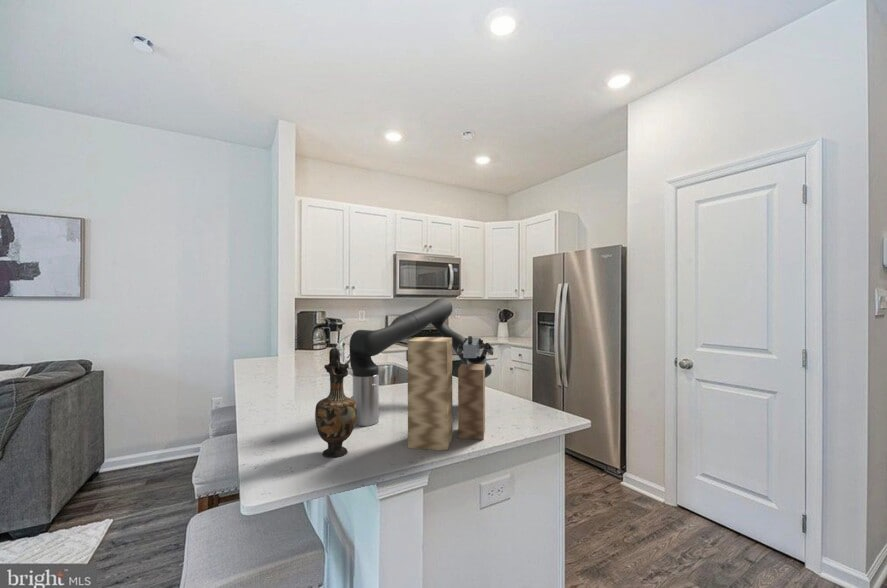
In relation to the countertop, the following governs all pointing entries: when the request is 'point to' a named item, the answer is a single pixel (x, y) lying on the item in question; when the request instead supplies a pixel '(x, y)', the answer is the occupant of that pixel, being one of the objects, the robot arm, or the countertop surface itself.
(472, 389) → the walnut block
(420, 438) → the oak block
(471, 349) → the tin
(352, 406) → the vase
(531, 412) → the countertop surface
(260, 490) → the countertop surface
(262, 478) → the countertop surface
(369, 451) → the countertop surface
